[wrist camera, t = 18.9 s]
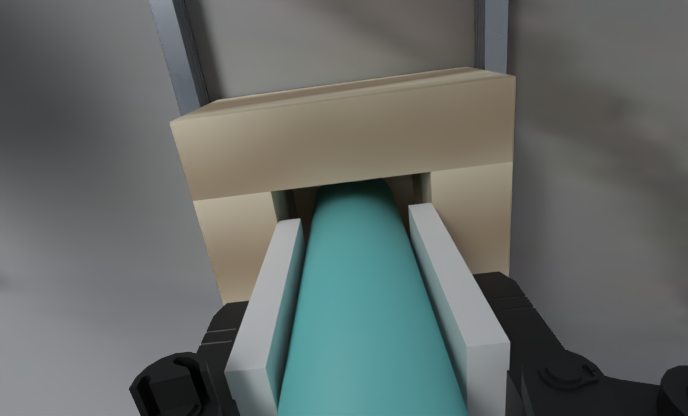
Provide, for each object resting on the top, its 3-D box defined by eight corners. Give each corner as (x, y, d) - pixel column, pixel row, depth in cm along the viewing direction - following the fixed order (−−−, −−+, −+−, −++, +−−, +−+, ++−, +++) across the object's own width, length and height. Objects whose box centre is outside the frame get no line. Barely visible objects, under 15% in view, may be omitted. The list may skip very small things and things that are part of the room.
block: (217, 99, 16) (169, 121, 12) (465, 66, 16) (516, 76, 11) (267, 303, 20) (245, 379, 15) (468, 281, 20) (506, 353, 15)
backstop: (91, -264, 12) (-296, -738, 5) (501, -337, 12) (780, -995, 4) (253, 338, 21) (205, 499, 14) (490, 313, 20) (575, 466, 13)
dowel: (321, 246, 18) (285, 583, 7) (309, 173, 16) (238, 438, 5) (397, 237, 18) (493, 567, 6) (391, 163, 16) (496, 413, 5)
